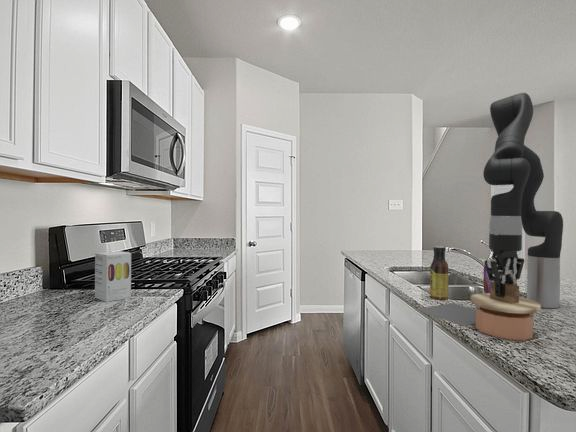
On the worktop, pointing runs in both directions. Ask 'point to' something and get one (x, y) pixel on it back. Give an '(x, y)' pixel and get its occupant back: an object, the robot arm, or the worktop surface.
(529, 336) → the bowl
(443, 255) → the sauce bottle
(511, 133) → the robot arm
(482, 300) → the lid
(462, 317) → the mat
